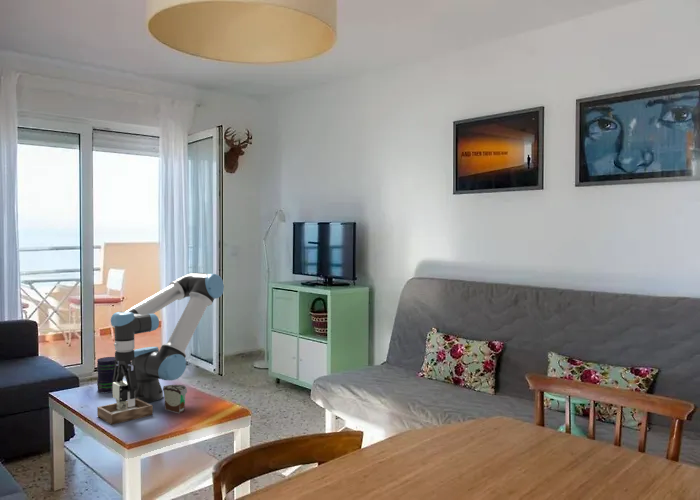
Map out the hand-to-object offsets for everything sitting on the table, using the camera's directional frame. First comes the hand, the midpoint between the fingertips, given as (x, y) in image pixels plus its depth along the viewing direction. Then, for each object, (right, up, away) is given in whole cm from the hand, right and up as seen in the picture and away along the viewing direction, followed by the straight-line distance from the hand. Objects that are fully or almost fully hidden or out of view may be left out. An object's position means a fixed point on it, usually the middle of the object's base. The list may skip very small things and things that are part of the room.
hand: (125, 403), depth 234 cm
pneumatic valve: (-1, -3, 0) cm, 3 cm away
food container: (+19, -5, +8) cm, 22 cm away
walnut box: (0, -5, 0) cm, 5 cm away
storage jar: (-23, -4, +39) cm, 46 cm away
